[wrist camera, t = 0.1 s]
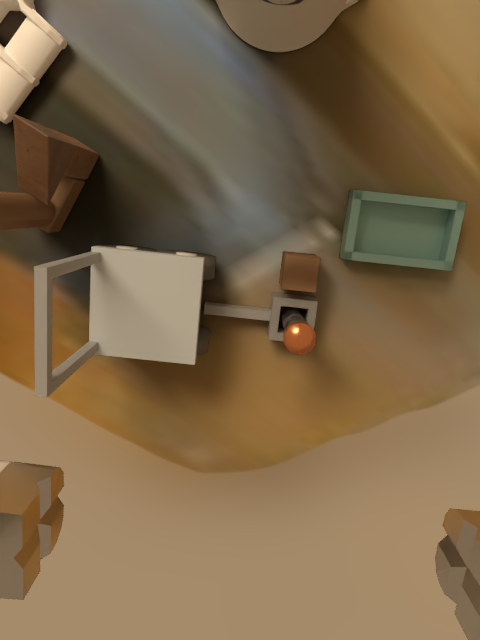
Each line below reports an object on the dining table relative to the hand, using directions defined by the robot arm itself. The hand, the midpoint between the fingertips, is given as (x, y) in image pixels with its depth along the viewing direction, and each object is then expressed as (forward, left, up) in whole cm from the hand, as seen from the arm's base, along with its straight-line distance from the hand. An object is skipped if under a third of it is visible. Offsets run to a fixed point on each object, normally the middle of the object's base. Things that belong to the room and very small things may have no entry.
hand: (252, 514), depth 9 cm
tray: (-6, +18, -48) cm, 51 cm away
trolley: (+5, -5, -48) cm, 48 cm away
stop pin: (+6, +6, -48) cm, 49 cm away
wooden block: (-7, -23, -48) cm, 54 cm away
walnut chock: (0, +6, -48) cm, 48 cm away
